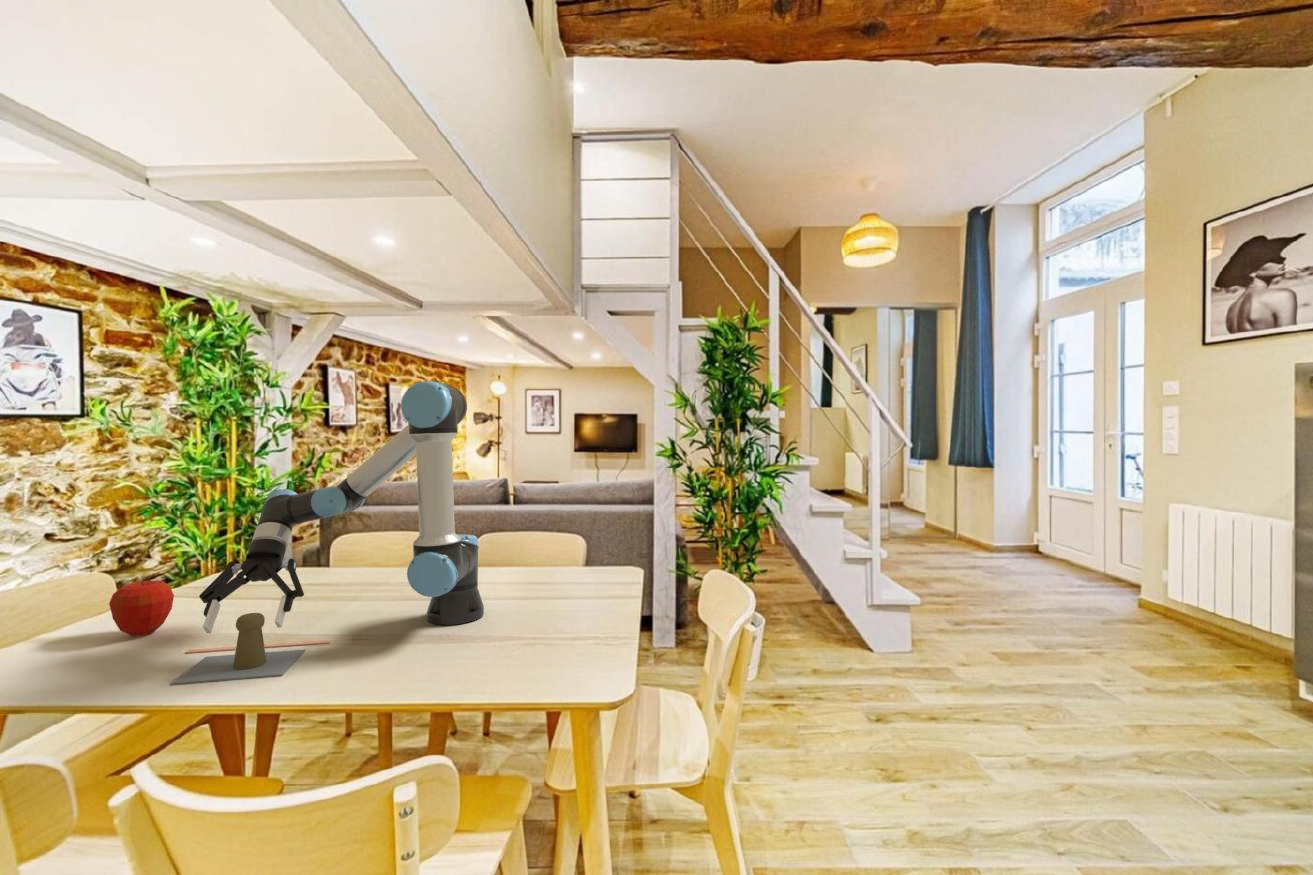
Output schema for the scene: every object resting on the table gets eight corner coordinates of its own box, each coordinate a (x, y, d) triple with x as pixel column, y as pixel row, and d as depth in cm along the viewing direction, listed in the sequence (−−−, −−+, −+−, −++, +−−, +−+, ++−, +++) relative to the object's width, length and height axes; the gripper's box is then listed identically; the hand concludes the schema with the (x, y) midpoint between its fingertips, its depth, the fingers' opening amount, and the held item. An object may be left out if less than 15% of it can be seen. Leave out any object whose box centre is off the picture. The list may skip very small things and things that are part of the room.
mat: (304, 651, 135) (305, 649, 135) (282, 675, 121) (282, 674, 121) (205, 658, 130) (205, 656, 130) (170, 685, 116) (170, 683, 116)
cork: (243, 659, 128) (244, 610, 128) (272, 658, 129) (272, 609, 129) (226, 670, 122) (226, 618, 122) (256, 669, 123) (256, 618, 123)
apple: (107, 634, 144) (107, 578, 144) (169, 622, 153) (169, 570, 153) (111, 646, 136) (111, 587, 136) (177, 634, 144) (177, 578, 144)
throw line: (331, 641, 141) (331, 639, 141) (329, 643, 140) (329, 642, 140) (188, 651, 134) (188, 649, 134) (184, 653, 132) (184, 652, 132)
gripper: (328, 551, 146) (310, 630, 132) (214, 556, 140) (182, 640, 125) (322, 534, 141) (302, 614, 127) (203, 539, 134) (168, 624, 120)
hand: (242, 627), depth 126 cm, fingers open, 13 cm apart
